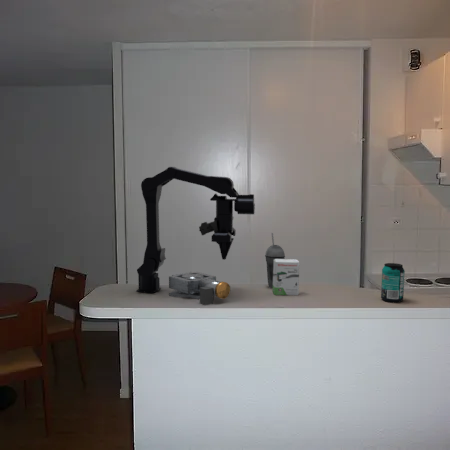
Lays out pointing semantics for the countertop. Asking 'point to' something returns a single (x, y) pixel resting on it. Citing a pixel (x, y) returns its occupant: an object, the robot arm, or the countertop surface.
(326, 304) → the countertop surface
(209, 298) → the block
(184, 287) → the flanged pipe fitting
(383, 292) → the beverage can
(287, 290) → the ink box
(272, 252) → the beverage cup
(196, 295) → the duct stub
